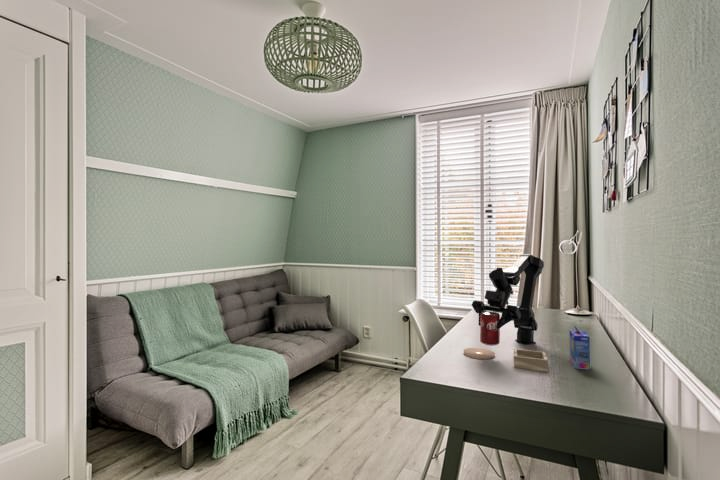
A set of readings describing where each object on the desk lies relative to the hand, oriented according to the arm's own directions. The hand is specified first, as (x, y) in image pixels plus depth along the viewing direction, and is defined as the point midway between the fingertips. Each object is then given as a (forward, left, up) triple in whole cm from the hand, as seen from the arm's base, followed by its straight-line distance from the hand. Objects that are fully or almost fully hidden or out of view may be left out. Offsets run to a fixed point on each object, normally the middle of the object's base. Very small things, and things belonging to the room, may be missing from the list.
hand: (488, 326), depth 152 cm
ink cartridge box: (-28, +16, -12) cm, 35 cm away
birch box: (-10, +11, -12) cm, 20 cm away
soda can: (-1, -1, -7) cm, 7 cm away
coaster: (+1, -5, -12) cm, 13 cm away
